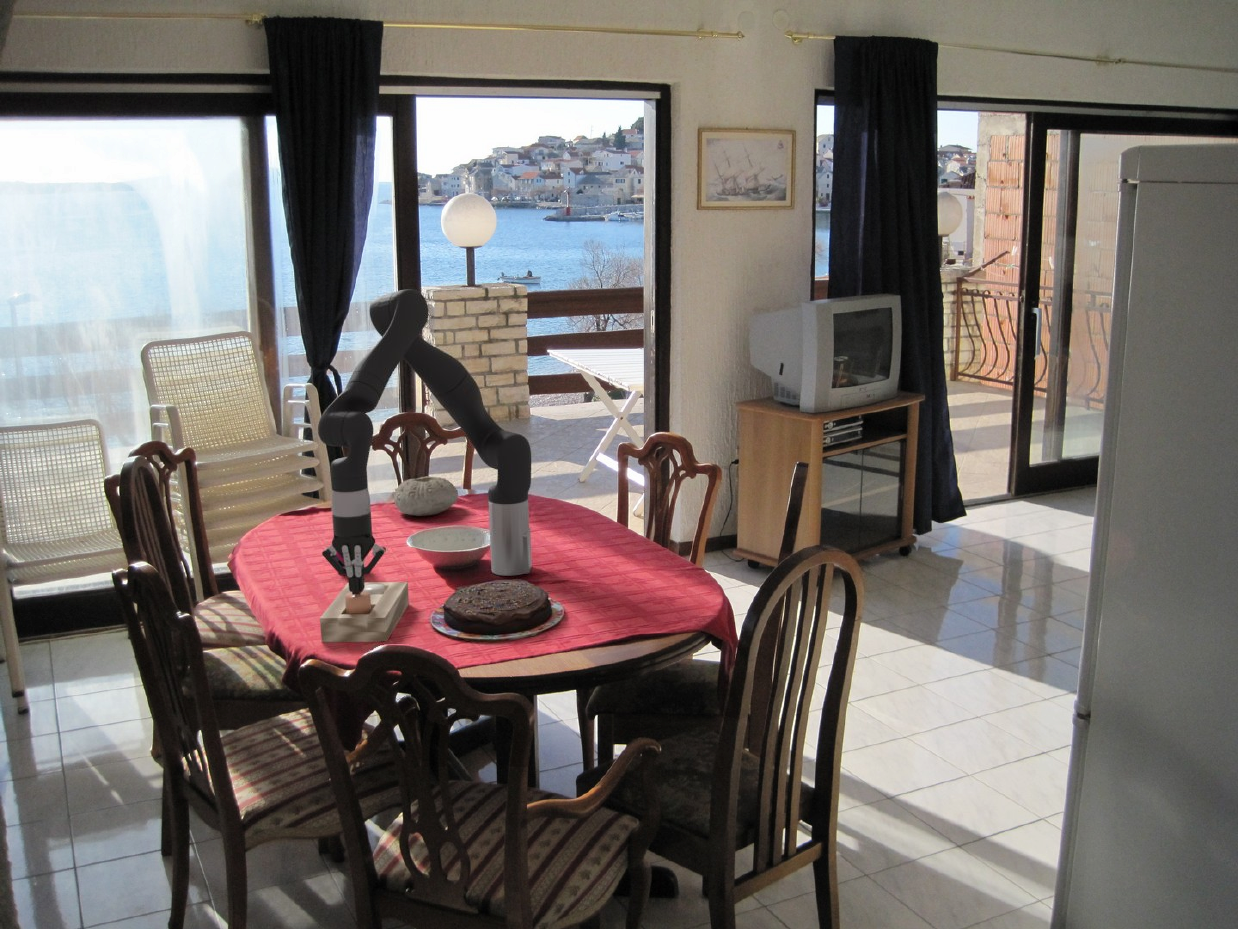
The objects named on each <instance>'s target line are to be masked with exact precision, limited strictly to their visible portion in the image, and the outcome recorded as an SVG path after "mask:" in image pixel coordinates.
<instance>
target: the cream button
mask: <svg viewBox="0 0 1238 929" xmlns="http://www.w3.org/2000/svg"><path fill="white" fill-rule="evenodd" d="M363 591H365V592H369V593H370V594H384V592H385V590H384V586H383V585H380V584H370V585H365V588H364V590H363Z"/></svg>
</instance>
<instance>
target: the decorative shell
mask: <svg viewBox="0 0 1238 929" xmlns="http://www.w3.org/2000/svg"><path fill="white" fill-rule="evenodd" d="M394 491H395V492H394V495H393V501H394V504H395V506H396V508H397V510H399V511H400V512H401V513H402V514H404V515H409V516H418V517H423V516H426V517H427V516H434V515H437V514H439V513H442V512H445V511H446V510H448V509H449V508H451V507H452V506H454V504H456V502H457V501H458V498H459V490H458V489H457V488H456V487H455V485H454V484H453V483H452V482H451V481H449V480H448V479H446V478H444V477H437V476H430V475H427V476H421V477H418V478H410V479H406V480H404V481H402V482H401V483H400V484H399V485H398V487H396V488H394Z"/></svg>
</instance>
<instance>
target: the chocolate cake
mask: <svg viewBox="0 0 1238 929" xmlns="http://www.w3.org/2000/svg"><path fill="white" fill-rule="evenodd" d="M564 614H565V609H564V607H563V605H562V604H561V603H560V602H559V601H557V599H553V598H552V597H550V596H549V592H548V591H546V590H545V589H544V588H542V587H540V586H539V585H535V584H533V583H530V582H528V581H527V580H525V579H520V578H519V579H518V578H517V579H501V580H500V579H495V580H493V581H486V582H483V583H477V584H471V585H465V586H459V587H456V588H455V590H454V592H453V593H452V594H451V595H450V596H448V598H447V599H446V600H445V601H444V604H442V605H440V606H439V607H437V608H436V609H435V610H433V612H432V613H431V614H430V617H429V620H430V625H431V626H432V628H433V629H434V630H436V631H437V632H440V633H442V634H444V635H446V636H447V637H448V638H450V639H452V640H457V639H458V640H459V639H460V640H461V639H462V640H465V641H467V642H475V643H487V644H493V643H494V644H495V643H500V642H507V641H513V640H520V639H525V638H530V637H534V636H538V635H539V634H540V633H542V632H543V631H545V630H547V629H549V628H550V629H551V628H555V627H557V626H559V623H560V622H561V620H562V619H563V617H565V615H564Z"/></svg>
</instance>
